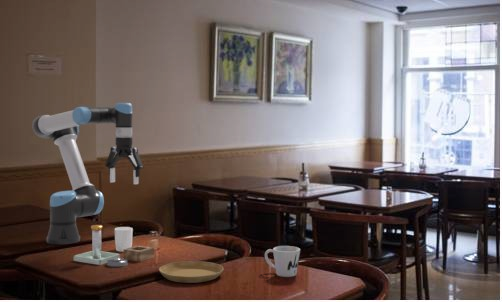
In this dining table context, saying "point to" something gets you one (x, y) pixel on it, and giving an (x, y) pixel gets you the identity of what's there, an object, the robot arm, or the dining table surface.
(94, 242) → the glass jar
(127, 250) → the socket block
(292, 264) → the mug
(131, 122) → the robot arm
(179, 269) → the plant saucer
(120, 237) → the white cup
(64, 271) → the dining table surface
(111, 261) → the pulley wheel
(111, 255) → the tray
